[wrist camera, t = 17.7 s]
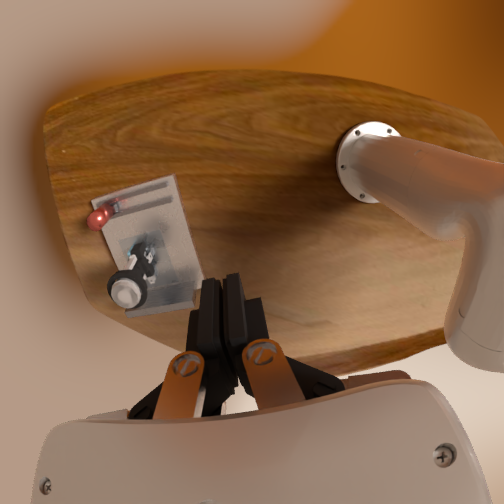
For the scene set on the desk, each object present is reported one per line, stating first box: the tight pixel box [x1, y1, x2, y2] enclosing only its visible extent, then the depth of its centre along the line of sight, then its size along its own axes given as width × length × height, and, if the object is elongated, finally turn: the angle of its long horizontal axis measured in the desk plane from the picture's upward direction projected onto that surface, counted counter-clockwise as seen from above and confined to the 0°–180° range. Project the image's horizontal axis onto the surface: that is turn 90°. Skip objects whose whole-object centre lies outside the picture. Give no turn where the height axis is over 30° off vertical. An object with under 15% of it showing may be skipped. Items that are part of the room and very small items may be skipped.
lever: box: [87, 203, 118, 231], centre depth 33 cm, size 3×2×5 cm
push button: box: [107, 242, 156, 309], centre depth 35 cm, size 7×5×10 cm
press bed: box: [91, 173, 206, 318], centre depth 37 cm, size 13×18×6 cm
